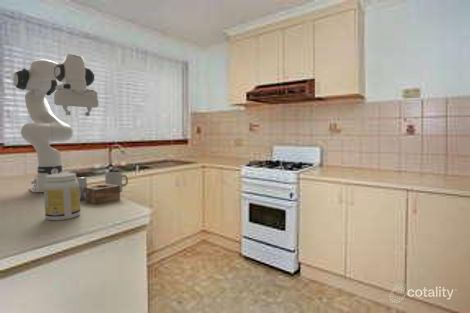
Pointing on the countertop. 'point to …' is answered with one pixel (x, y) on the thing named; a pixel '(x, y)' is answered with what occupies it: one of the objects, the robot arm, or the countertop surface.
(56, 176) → the supplement tub
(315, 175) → the countertop surface
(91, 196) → the bore block
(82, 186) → the cylinder
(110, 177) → the mug
